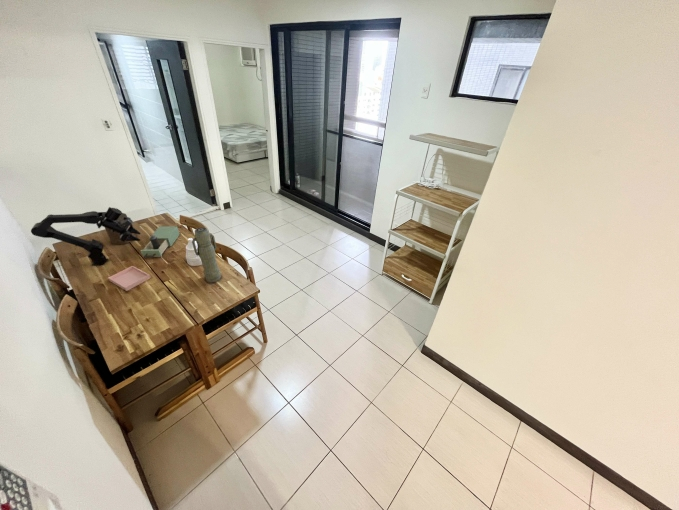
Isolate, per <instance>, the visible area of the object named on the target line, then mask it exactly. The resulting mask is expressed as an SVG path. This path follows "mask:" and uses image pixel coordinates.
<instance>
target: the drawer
mask: <svg viewBox="0 0 679 510" xmlns="http://www.w3.org/2000/svg"><path fill="white" fill-rule="evenodd" d="M158 242H159V244H160V247H159V248H158V249H156V250H153V246H152V243H151V241H150V240H149V242H148V243H147V244H146V245H145V247H143V249H140V253H141V255H142V258H143V259H148V258H149V259H154V258H163V253H164V252H165V251H166V249H167V248H168V245H169V243H168V240H167V239H158Z"/></svg>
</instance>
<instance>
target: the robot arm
mask: <svg viewBox="0 0 679 510" xmlns="http://www.w3.org/2000/svg"><path fill="white" fill-rule="evenodd" d="M122 213H123V212H122V211H121V210H120V209H119V208H117V207H110V206H109V207H108V208H107V210H106V211H96V210H92V211H86V212H83V213H71V214H70V213H67V214H66V213H65V214H48V215H46V217H45V218H43V219H42V220H41V221H39V222H36V223H34V224H33V226H32V227H31V229H30V233H31V234H32V235H33V236H35V237H37V238H39V237H40V238H43V239H55V240H58V241H61V242H63V243H67V244H70V245H73V246H76V247H79V248H82V249H83V250H85V251H87V252H88V254H87V257H88V258H89V259H90V260H91V262H92V263H91V266H104V265H105V264H106V263H107V262H108V261H109V258H107V257H106V255H105V254H104V253H103V250H104V244H103V243H102V242H101V240H96V239H94V238H92V239H91V240H86V239H83V238H81V237H77V236H74V235H72V234H69V233H65V232H63V231H60V230H57V229H55V228H54V227H53V226H52V225H53V224H64V223H84V224H87V225H88V224H89V225H96V226H97V229H101V228H102V227H103V228H104V229H105V228H108V229H110V230H112V232H114V231H115V232H118V233H119V235H121V236H120V240H121V241H123V242H125V241H131V242H140V241H141V238H138V237H137V236H136V235H141V234H142V233H141V232H140V231H139V230H137V229H136V228H135V227H134V226H133V224H134V220H132V219H131V217H129V216H127V217H126V216H125V217H123V221H122V222H119V221H117V222H115V220H117V219H118V218H119V217H120V215H121V214H122ZM105 217H106V218H105ZM131 233H134V234H135V236H136V237H135V236H133V235H132V234H131Z"/></svg>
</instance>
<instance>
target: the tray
mask: <svg viewBox="0 0 679 510" xmlns="http://www.w3.org/2000/svg"><path fill="white" fill-rule="evenodd" d="M151 278H152V277H151V275H150V274H149V273H147V272H145V271H144V270H141V269H140V268H138V267H136V266H134V265H131V266H129V267H127V268H125V269H123V270H121V271H119V272H117V273H115V274H113V275H111V276H109V277H107V279H108V281H109V282H111V283H112V284H113V285H115V286H117V287H119V288H120V289H122V290H124V291H126V292H128V291H130V290H131V289H133V288H136V287H137V286H139V285H141V284H143V283H144V282H147V281H148V280H149V279H151Z"/></svg>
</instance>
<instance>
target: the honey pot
mask: <svg viewBox="0 0 679 510" xmlns="http://www.w3.org/2000/svg"><path fill="white" fill-rule="evenodd" d="M193 239H194V238H192V237H189V238H187V241H188V242H187V244H186V245H185V260H186V262H187V264H188V265H189V266H191V267H198V266H203V265H202V261H201V258H200V257H199V255H198V256H197V255H196V254H195V251H194V248H193V244H192V240H193ZM195 246H196V249H197V247H198V246H197V242H196V241H195ZM197 252H198V250H197Z"/></svg>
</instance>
